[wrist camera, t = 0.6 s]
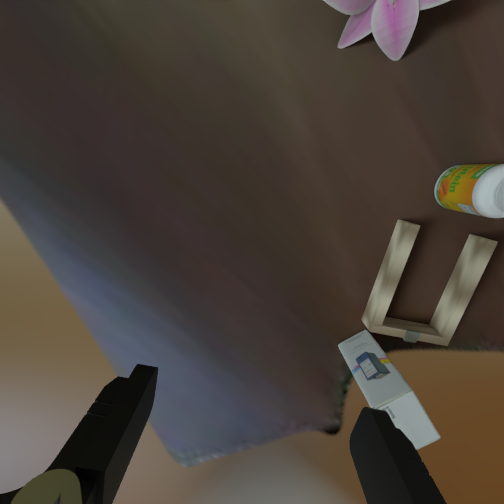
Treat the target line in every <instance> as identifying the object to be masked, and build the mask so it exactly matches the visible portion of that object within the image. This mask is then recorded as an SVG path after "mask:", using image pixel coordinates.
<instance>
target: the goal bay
mask: <svg viewBox="0 0 504 504" xmlns="http://www.w3.org/2000/svg"><path fill="white" fill-rule="evenodd" d="M419 229H420V225H417V224H414V223H411V222H408V221H404V220H399V219H398V221H397V224H396V226H395V229H394V232H393V235H392V237H391V240H390V243H389V246H388V248H387V251H386V254H385V257H384V259H383V262H382V265H381V268H380V270H379V273H378V276H377V279H376V281H375V284H374V287H373V290H372V292H371V295H370V298H369V301H368V303H367V306H366V309H365V312H364V314H363V317H362V321H363V323H364V324H365V326H366V327H367V328H368V330H369V331H370V332H374V333H379V334H385V335H390V336H395V337H401V338H403V340H404V341H407V342H412V343H416V341H422V342H428V343H433V344H439V345H444V346H448V344H449V342H450V340H451V338H452V336H453V334H454V332H455V330H456V328H457V325H458V323H459V321H460V319H461V317H462V315H463V313H464V311H465V309H466V307H467V305H468V303H469V301H470V299H471V297H472V295H473V293H474V290H475V288H476V286H477V284H478V282H479V280H480V278H481V276H482V274H483V272H484V270H485V268H486V266H487V264H488V262H489V260H490V258H491V255H492V253H493V251H494V249H495V247H496V245H497V243H498V242H497V241H494V240H490V239H487V238H484V237H480V236H476V235H472V234H470V235H469V237H468V239H467V241H466V244H465V246H464V248H463V250H462V252H461V255H460V257H459V259H458V261H457V264H456V266H455V268H454V270H453V272H452V275H451V277H450V279H449V281H448V284H447V286H446V288H445V290H444V292H443V295H442V297H441V299H440V301H439V304H438V306H437V308H436V310H435V312H434V315H433V317H432V319H431V321H430V324H429V325H427V324H422V323H416V322H411V321H406V320H400V319H395V318H390V317H385V315H386V313H387V310H388V308H389V305H390V303H391V300H392V298H393V295H394V292H395V290H396V287H397V285H398V282H399V280H400V277H401V275H402V272H403V269H404V267H405V264H406V262H407V259H408V257H409V254H410V252H411V249H412V246H413V244H414V241H415V239H416V236H417V234H418V231H419Z"/></svg>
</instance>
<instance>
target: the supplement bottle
mask: <svg viewBox="0 0 504 504" xmlns="http://www.w3.org/2000/svg"><path fill="white" fill-rule="evenodd" d="M434 194H435V198H436V200H437V202H438V203H439V204H440V205H441V206H443V207H444V208H447V209H451V210H455V211H460V212H465V213H470V214H475V215H480V216H484V217H490V218H504V164H472V165H471V164H469V165H457V166H453V167H451V168H449V169H447V170H446V171H445V172H443V173H442V174H441V176H440V177H439V178H438V180H437V182H436V185H435V190H434Z"/></svg>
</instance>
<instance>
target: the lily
mask: <svg viewBox="0 0 504 504" xmlns="http://www.w3.org/2000/svg"><path fill="white" fill-rule="evenodd" d="M323 1H325V2H326V3H327V4H328V5H330V6H332V7H333V8H335V9H336V10H338V11H340V12H342V13H344V14H347V15H351V16H350V18H349V20H348V22H347V24H346V26H345V28H344V30H343V33H342V35H341V38H340V40H339V43H338V48H344V47H347V46H349V45H351V44H353V43H355V42H357V41H359V40H360V39H362V38H364V37H365V36H367V35H368V34H370V33H371V32H372V34H373V36H374V39H375V41H376V42H377V44H378V45H379V47H380V48H381V49H382V51H383V52H384V53H385V54H386V55H387V56H388V57H389V58H390V59H391V60H393V61H398V60H399V59H400V58H401V57H402V55H403V54H404V52H405V50H406V48H407V46H408V44H409V42H410V40H411V37H412V35H413V32H414V30H415V27H416V24H417V20H418V16H419V10H424V9H428V8H432V7H435V6H438V5H441V4H443V3H446V2H448V1H450V0H323Z"/></svg>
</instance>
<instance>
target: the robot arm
mask: <svg viewBox="0 0 504 504" xmlns="http://www.w3.org/2000/svg"><path fill="white" fill-rule="evenodd" d="M157 375H158V368H157V367H152V366H147V365H141V364H137V365H136V367H135V368H134V370H133V371H132V373H131V375H130V377H129V378H124V377H117V378H115V379H114V380H113V381H111V382H110V383H109V384H108V385H106V386H105V387H104V388H103V390H102V391H101V392H100V394H99V396H98V397H97V398H96V400H95V402H94V403H93V404H92V406H91V407H90V409H89V410H88V411H87V414H86V415H85V416H84V417H83V419H82V420H81V422H80V423H79V425H78V426H77V428H76V429H75V430H74V432H73V434H72V435H71V436H70V438H69V439H68V441H67V442H66V444H65V445H64V447H63V448H62V450H61V451H60V452H59V454H58V455H57V457H56V458H55V460H54V461H53V463H52V464H51V465H50V466H49V467H48V469H47V470H46V471H45V472H44V473H42V474H40V475H38V476H37V477H35V478H33V479H32V480H31V481H29V482H28V483H27V484H26V485H25V486H23V487H21V488H19V489H17V490H14V491H11V492H8V493H4V494H0V504H112V503H113V500H114V498H115V496H116V493H117V491H118V489H119V486H120V484H121V482H122V479H123V477H124V474H125V472H126V470H127V467H128V465H129V463H130V460H131V458H132V456H133V453H134V451H135V448H136V446H137V444H138V441H139V439H140V436H141V434H142V432H143V429H144V427H145V425H146V423H147V420H148V418H149V415H150V413H151V409H152V406H153V402H154V397H155V390H156V382H157ZM350 451H351V455H352V458H353V461H354V464H355V467H356V470H357V474H358V476H359V480H360V483H361V485H362V489H363V492H364V495H365V497H366V501H367V504H446V502H445V500H444V498H443V496H442V495H441V493H440V491H439V489H438V488H437V486H436V484H435V482H434V481H433V479H432V477H431V476H429V472H428V470H427V468H426V466H425V465H424V463H423V462H422V461H421V457H420V456H419V454H418V452H417V450H416V449H415V447H414V445H413V443H412V442H411V441H410V440H409V439H408V438H407V436H406V435H405V434H404V433H403V432H402V431H401V430H400V429H399V428H396V427H395V425H394V423H393V422H392V420H391V418H390V416H389V414H388V413H387V412H386V411H384V410H380V409H374V408H369V407H364V408H363V409H362V411H361V413H360V415H359V418H358V420H357V422H356V424H355V426H354V429H353V431H352V433H351V436H350Z"/></svg>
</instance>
